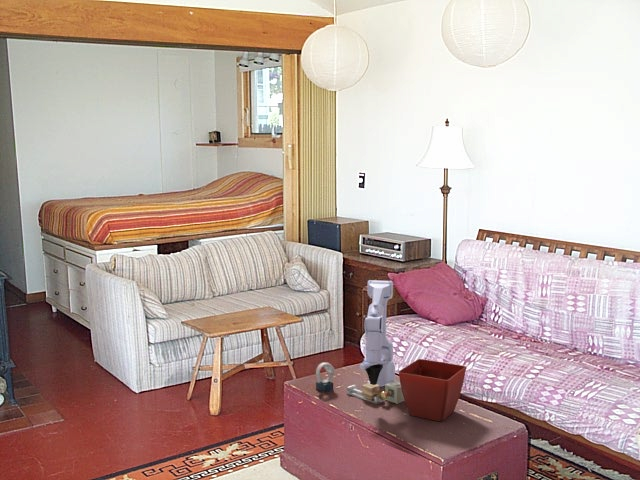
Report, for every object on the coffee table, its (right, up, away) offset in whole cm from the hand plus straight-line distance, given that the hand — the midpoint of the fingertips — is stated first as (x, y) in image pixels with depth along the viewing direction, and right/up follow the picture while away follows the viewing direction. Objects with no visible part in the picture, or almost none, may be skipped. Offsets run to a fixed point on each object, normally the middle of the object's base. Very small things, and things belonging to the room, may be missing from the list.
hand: (373, 384), depth 271 cm
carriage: (0, -7, +10) cm, 12 cm away
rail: (-2, -8, +12) cm, 15 cm away
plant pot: (+21, -10, -3) cm, 24 cm away
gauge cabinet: (+9, -8, +10) cm, 16 cm away
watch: (-18, -7, +21) cm, 29 cm away
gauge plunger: (+6, -7, +7) cm, 11 cm away
